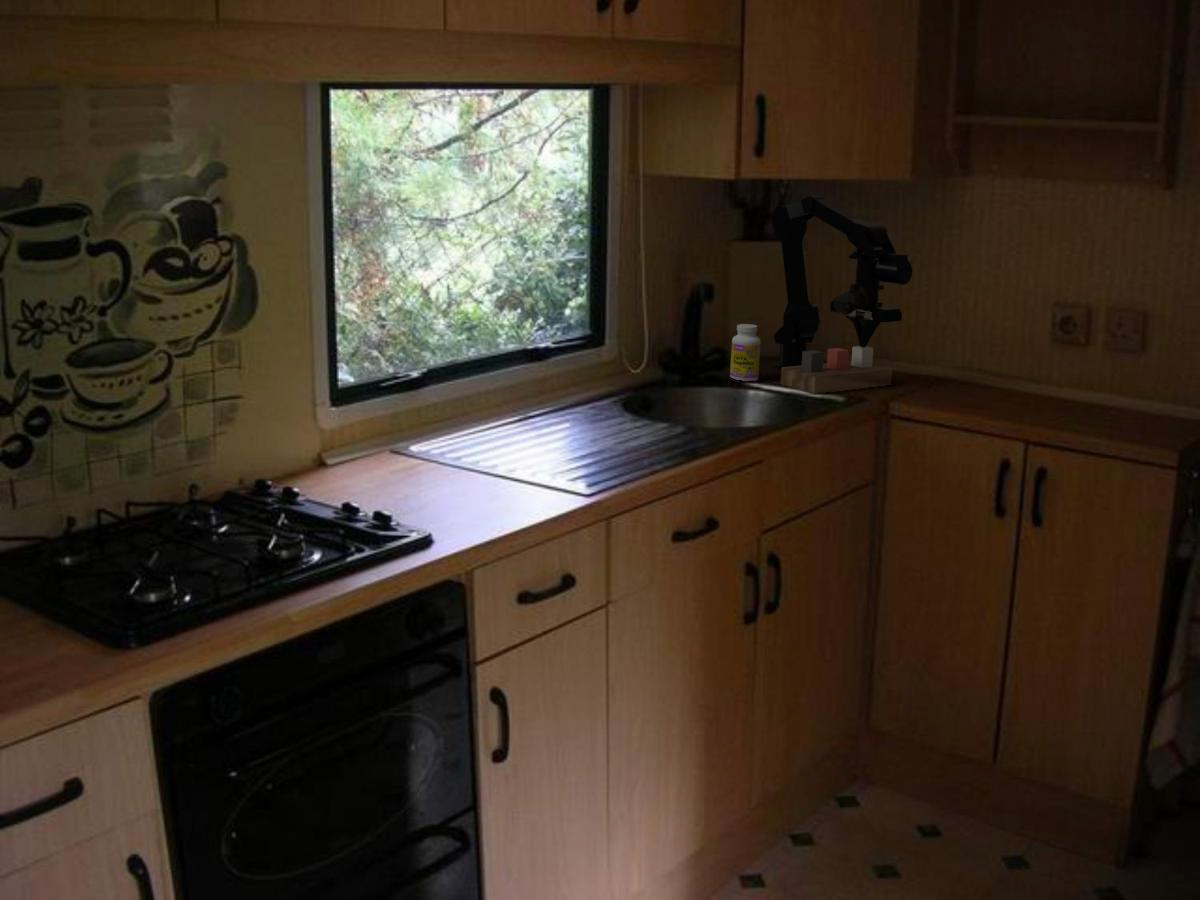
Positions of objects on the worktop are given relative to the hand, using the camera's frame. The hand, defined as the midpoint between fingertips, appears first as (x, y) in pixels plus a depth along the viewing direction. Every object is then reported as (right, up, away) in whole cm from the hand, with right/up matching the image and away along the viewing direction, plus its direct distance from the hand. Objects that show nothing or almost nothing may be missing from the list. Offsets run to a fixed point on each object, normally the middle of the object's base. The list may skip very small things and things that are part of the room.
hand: (862, 346), depth 318 cm
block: (-7, -9, -2) cm, 11 cm away
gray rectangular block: (-13, -7, -6) cm, 16 cm away
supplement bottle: (-28, -8, +2) cm, 29 cm away
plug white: (0, -5, +1) cm, 5 cm away
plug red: (-6, -6, -3) cm, 9 cm away
